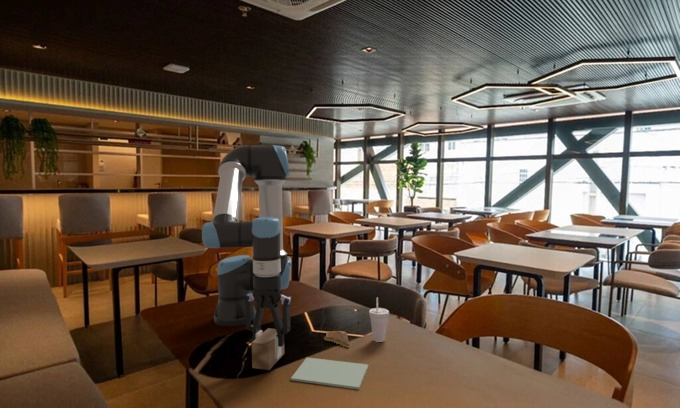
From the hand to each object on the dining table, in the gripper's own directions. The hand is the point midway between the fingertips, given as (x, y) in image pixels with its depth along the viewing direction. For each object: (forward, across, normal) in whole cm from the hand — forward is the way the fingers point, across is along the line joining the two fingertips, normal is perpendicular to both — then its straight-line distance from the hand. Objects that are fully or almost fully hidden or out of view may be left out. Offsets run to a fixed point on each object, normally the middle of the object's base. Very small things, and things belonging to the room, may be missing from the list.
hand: (268, 355), depth 108 cm
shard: (+4, +15, +22) cm, 27 cm away
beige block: (+1, 0, 0) cm, 1 cm away
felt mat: (+3, +18, 0) cm, 18 cm away
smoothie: (+3, +27, +24) cm, 36 cm away
